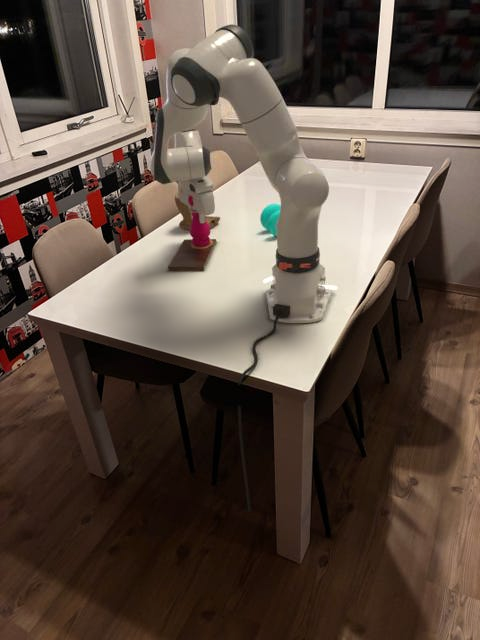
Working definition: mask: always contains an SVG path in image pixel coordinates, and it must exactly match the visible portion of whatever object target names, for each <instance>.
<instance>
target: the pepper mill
mask: <svg viewBox="0 0 480 640" xmlns="http://www.w3.org/2000/svg"><path fill="white" fill-rule="evenodd" d="M188 203H189V204H190V205H191V206H193V205H194V203H193V197H192V196H191V195H189V197H188ZM190 208H191V207H190ZM191 212H192V214H193V220H192V224H191V227H190V228H189V235H190V236H191V238H192V243H193V245H194V246H197V247H203V246H207V245H209V244H210V239H211V237H210V235H211V232H212V231H211V228H210V227H209V225H208V223H207V221H206V219H205V223H202V224H201V223H199V220H198V218H199V213H198V211H196V210H194V209H193V208H191Z"/></svg>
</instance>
